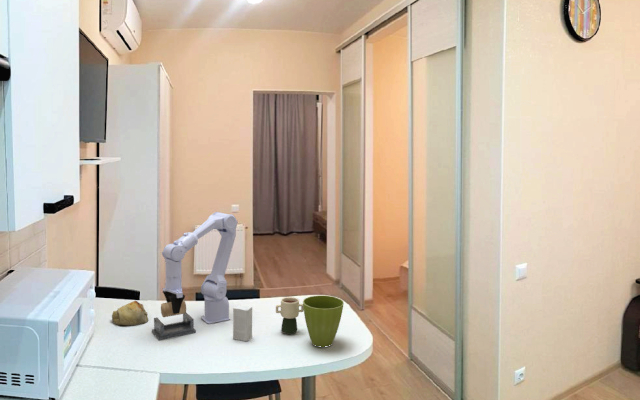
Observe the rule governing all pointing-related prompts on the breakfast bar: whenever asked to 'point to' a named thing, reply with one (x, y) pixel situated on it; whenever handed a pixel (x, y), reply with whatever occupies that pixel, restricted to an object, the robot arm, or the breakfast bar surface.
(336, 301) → the flower pot
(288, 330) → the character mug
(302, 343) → the breakfast bar surface
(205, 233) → the robot arm
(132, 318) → the pastry
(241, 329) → the skincare box
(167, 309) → the cylinder
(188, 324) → the holder
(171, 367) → the breakfast bar surface
